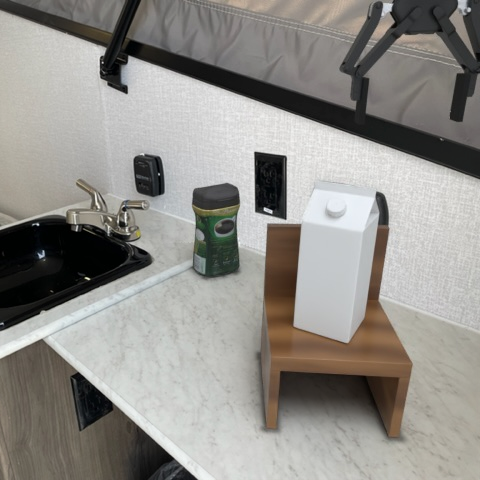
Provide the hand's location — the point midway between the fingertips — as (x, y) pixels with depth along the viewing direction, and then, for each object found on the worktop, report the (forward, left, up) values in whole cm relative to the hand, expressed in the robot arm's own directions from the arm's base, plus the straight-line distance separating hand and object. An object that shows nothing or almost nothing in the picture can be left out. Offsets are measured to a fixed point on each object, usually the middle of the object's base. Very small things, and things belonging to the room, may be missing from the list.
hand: (406, 122), depth 73 cm
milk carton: (+12, +20, -23) cm, 33 cm away
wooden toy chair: (+12, +20, -34) cm, 41 cm away
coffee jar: (+28, -18, -34) cm, 48 cm away
